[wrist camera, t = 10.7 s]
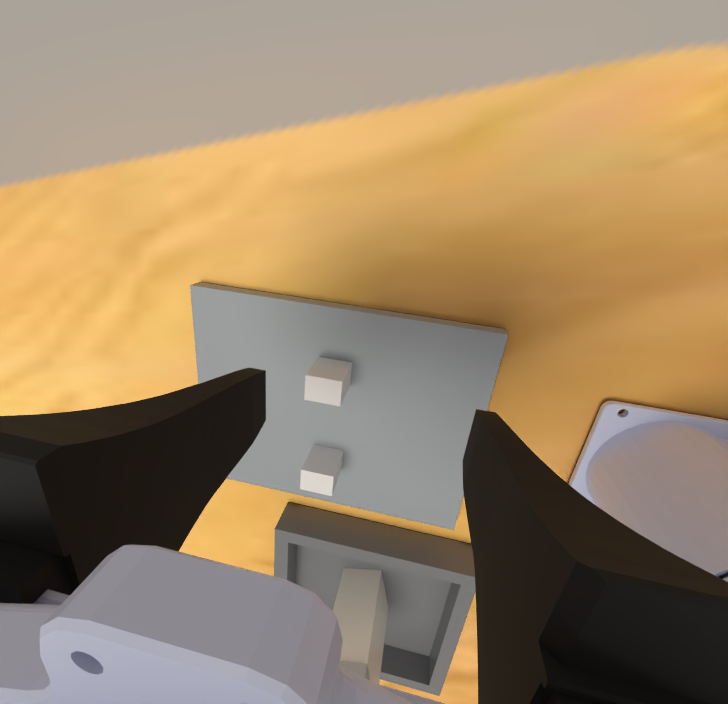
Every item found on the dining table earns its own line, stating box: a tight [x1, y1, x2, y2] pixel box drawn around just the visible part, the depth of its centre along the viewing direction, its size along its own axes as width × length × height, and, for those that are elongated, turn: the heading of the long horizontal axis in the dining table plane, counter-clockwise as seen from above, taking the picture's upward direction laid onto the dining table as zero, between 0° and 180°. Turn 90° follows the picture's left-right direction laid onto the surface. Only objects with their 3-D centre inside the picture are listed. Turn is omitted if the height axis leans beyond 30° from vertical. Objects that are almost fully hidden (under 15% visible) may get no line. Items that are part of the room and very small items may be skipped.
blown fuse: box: [333, 568, 388, 684], centre depth 25 cm, size 3×4×7 cm
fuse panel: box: [190, 282, 508, 530], centre depth 22 cm, size 18×14×4 cm
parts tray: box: [274, 502, 476, 696], centre depth 28 cm, size 14×14×2 cm
